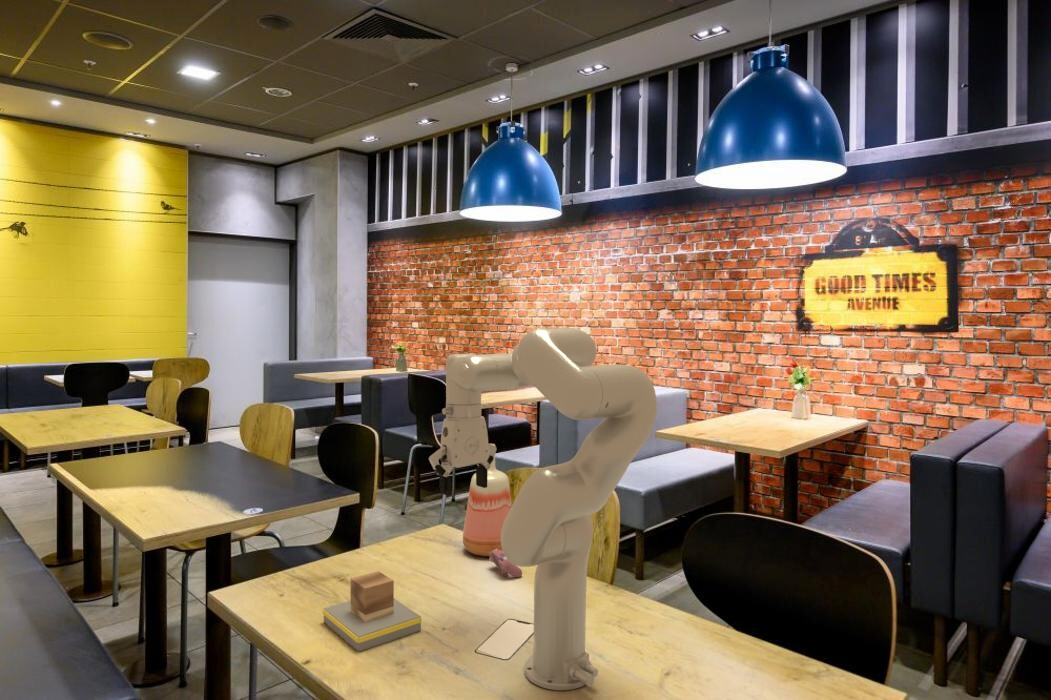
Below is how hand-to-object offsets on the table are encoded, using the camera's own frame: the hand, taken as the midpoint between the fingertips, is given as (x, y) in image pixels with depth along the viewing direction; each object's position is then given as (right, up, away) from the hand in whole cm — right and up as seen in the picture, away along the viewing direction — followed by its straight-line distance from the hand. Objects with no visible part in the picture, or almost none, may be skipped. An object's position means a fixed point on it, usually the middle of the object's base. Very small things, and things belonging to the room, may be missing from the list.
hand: (464, 490), depth 147 cm
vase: (+3, -25, +41) cm, 48 cm away
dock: (-19, -28, -4) cm, 34 cm away
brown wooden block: (-19, -25, -4) cm, 31 cm away
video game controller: (+8, -26, +26) cm, 38 cm away
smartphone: (+10, -29, -9) cm, 32 cm away
